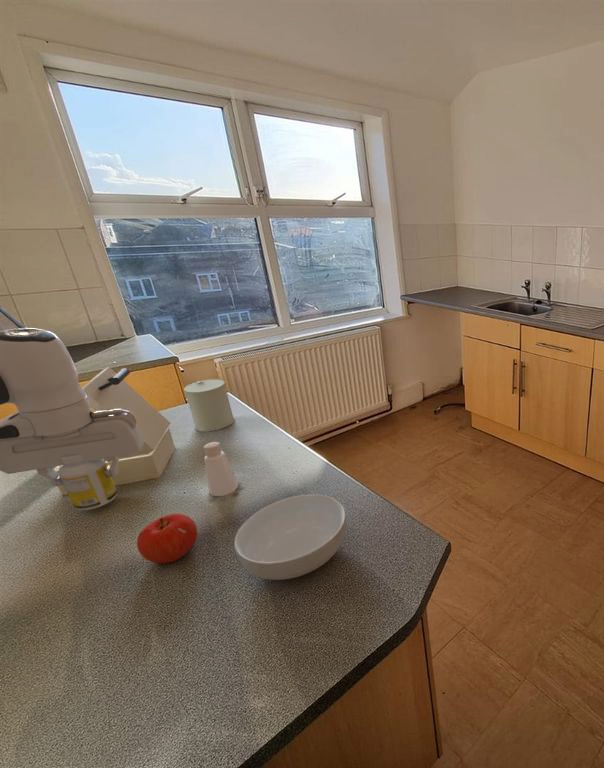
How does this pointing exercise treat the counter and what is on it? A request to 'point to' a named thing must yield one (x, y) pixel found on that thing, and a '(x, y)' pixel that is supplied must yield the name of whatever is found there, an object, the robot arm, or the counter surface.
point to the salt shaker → (218, 471)
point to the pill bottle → (86, 482)
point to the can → (209, 405)
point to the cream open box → (140, 463)
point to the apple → (167, 538)
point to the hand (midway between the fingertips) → (87, 479)
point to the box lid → (126, 404)
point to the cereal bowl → (291, 536)
